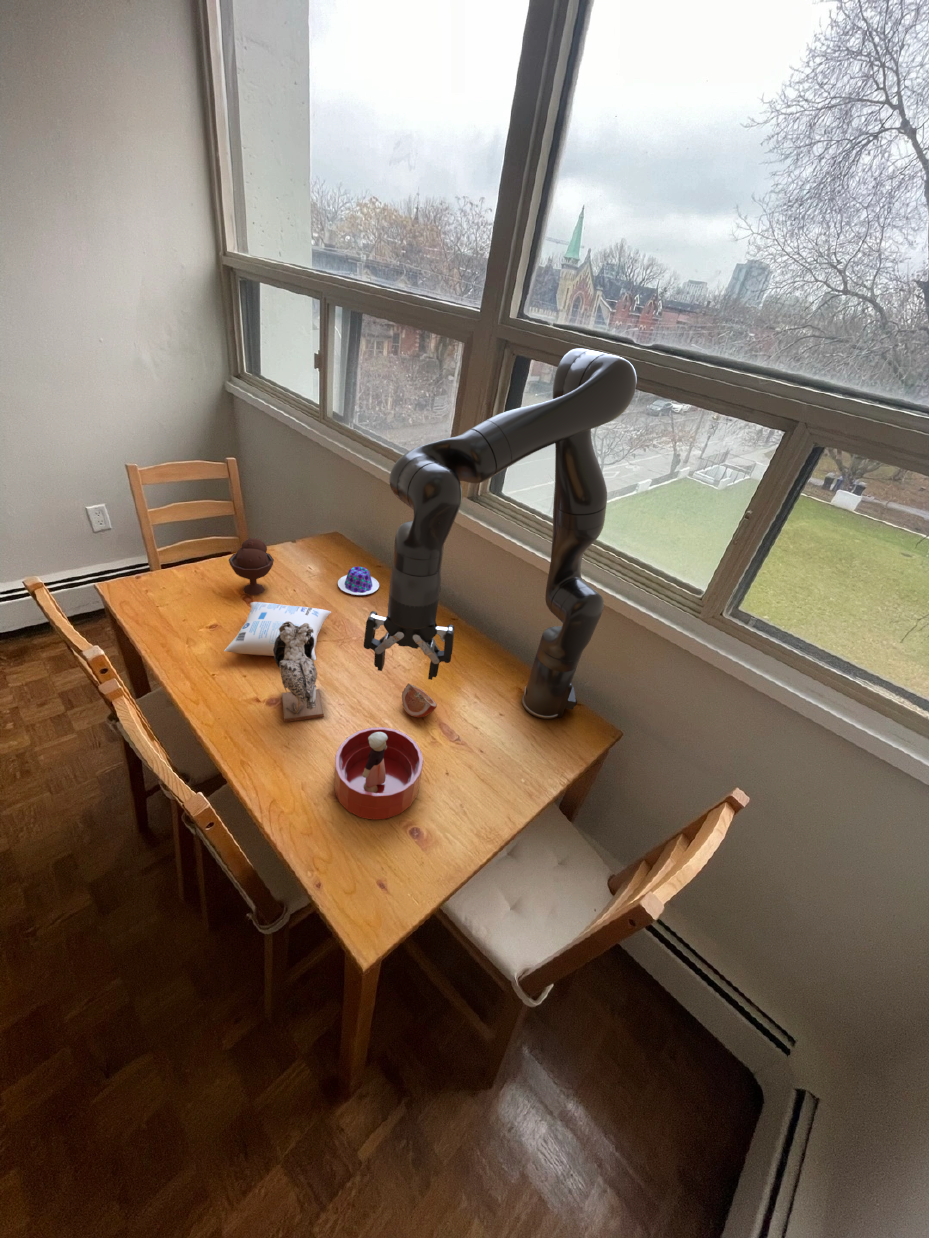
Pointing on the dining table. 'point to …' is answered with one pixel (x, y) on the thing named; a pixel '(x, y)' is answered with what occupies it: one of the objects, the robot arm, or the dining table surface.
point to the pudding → (358, 582)
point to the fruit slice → (417, 701)
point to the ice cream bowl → (252, 564)
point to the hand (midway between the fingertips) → (406, 672)
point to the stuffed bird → (297, 672)
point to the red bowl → (399, 770)
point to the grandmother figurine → (375, 762)
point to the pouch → (273, 627)
